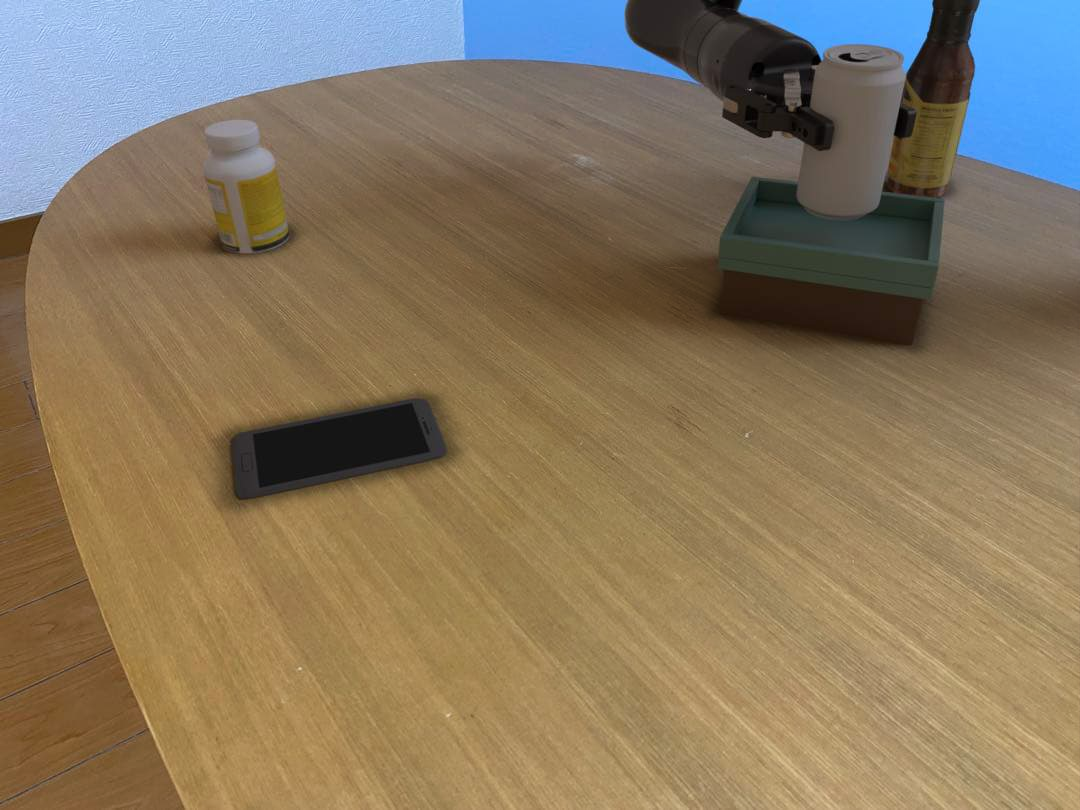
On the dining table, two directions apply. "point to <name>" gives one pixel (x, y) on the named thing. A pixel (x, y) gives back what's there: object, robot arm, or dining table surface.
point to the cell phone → (334, 448)
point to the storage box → (830, 263)
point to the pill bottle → (244, 188)
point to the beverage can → (852, 130)
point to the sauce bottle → (936, 103)
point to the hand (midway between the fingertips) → (869, 131)
